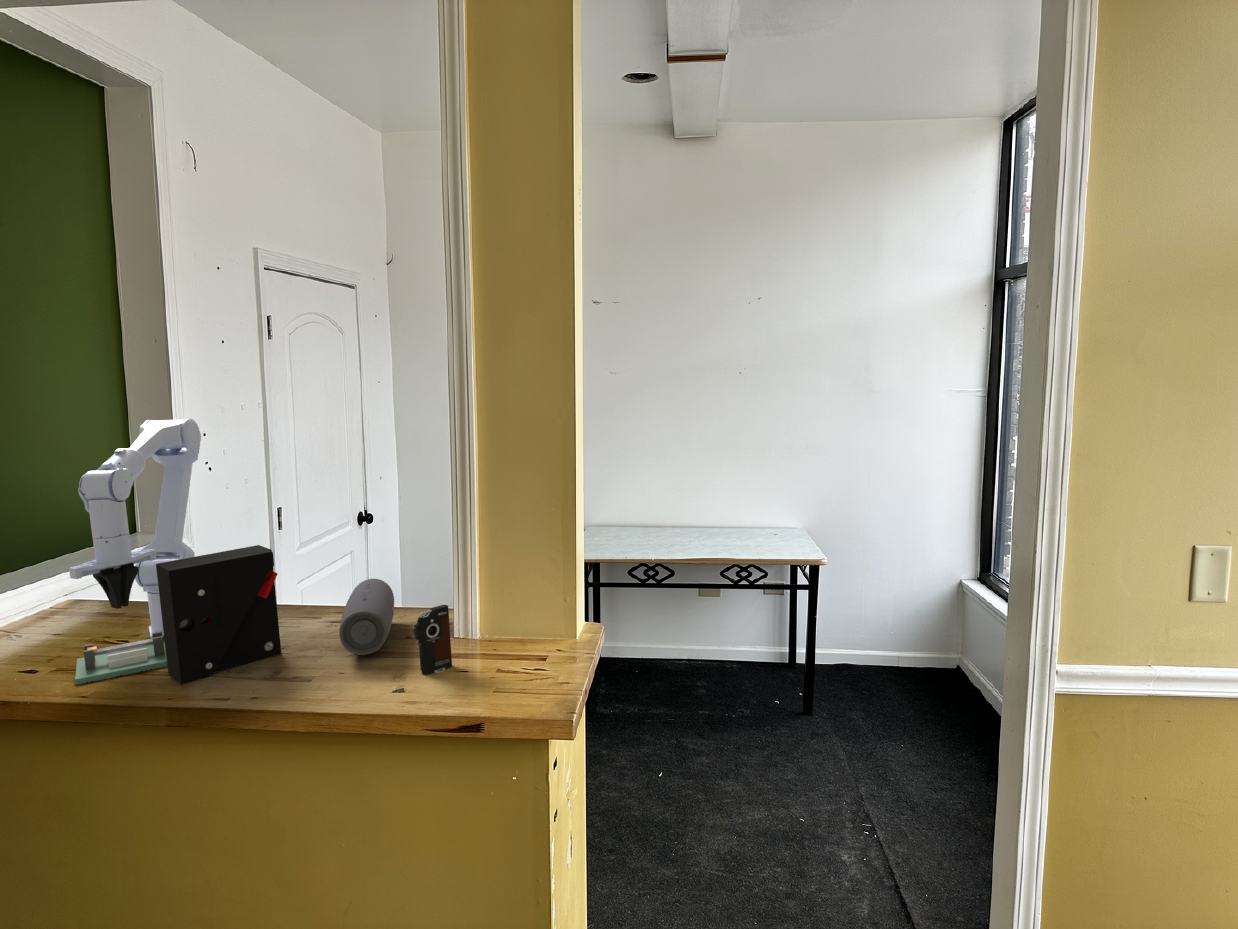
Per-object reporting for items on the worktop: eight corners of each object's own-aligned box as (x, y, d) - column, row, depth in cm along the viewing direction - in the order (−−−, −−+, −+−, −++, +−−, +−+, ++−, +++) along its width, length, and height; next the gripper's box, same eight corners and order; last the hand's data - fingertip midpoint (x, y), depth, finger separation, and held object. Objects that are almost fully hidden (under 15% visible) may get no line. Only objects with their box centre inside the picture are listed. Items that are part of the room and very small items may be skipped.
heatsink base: (175, 645, 158) (173, 623, 157) (180, 663, 148) (178, 640, 147) (77, 664, 149) (74, 641, 149) (75, 685, 139) (72, 660, 139)
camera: (421, 677, 137) (417, 615, 136) (415, 672, 140) (410, 611, 138) (455, 668, 141) (451, 607, 140) (449, 663, 143) (445, 603, 142)
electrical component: (264, 643, 157) (254, 543, 154) (285, 656, 150) (275, 551, 147) (164, 670, 145) (152, 561, 142) (182, 685, 138) (169, 571, 135)
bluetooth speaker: (392, 659, 147) (388, 605, 145) (338, 665, 145) (334, 611, 143) (398, 620, 169) (395, 573, 167) (351, 624, 167) (348, 577, 165)
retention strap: (160, 640, 152) (159, 633, 152) (161, 643, 150) (160, 636, 150) (88, 654, 146) (87, 647, 146) (88, 658, 144) (87, 650, 144)
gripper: (137, 525, 156) (145, 593, 158) (56, 542, 143) (66, 615, 145) (159, 527, 152) (167, 597, 154) (78, 545, 140) (88, 620, 142)
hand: (120, 606), depth 150 cm, fingers closed
